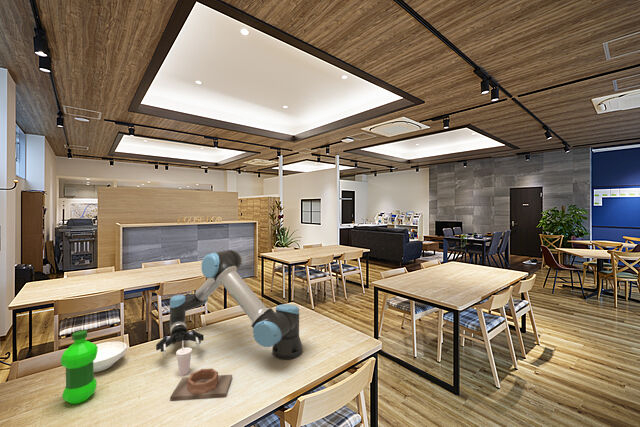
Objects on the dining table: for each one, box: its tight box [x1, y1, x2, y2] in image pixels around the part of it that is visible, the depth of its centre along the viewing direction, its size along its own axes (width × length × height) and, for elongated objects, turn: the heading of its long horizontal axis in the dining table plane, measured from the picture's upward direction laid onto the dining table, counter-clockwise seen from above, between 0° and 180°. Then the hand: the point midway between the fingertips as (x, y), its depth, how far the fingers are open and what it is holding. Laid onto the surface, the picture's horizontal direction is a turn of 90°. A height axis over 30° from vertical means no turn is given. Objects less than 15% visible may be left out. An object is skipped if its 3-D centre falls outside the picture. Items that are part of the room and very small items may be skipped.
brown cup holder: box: [169, 368, 233, 402], centre depth 111 cm, size 20×12×5 cm, turn 97°
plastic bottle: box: [60, 329, 98, 405], centre depth 104 cm, size 10×10×25 cm
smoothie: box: [175, 340, 193, 376], centre depth 121 cm, size 6×6×14 cm
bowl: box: [93, 341, 128, 373], centre depth 126 cm, size 20×20×7 cm
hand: (182, 349), depth 126 cm, fingers open, 13 cm apart
